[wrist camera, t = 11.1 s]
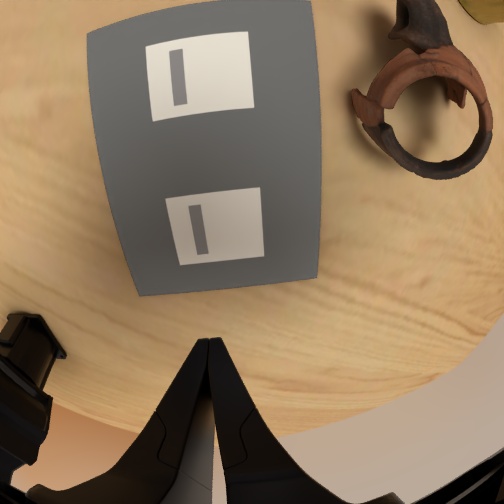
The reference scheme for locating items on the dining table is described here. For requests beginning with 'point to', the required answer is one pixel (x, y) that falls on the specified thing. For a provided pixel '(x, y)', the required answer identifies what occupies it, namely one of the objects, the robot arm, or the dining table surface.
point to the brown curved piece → (415, 68)
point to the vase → (485, 10)
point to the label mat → (211, 143)
